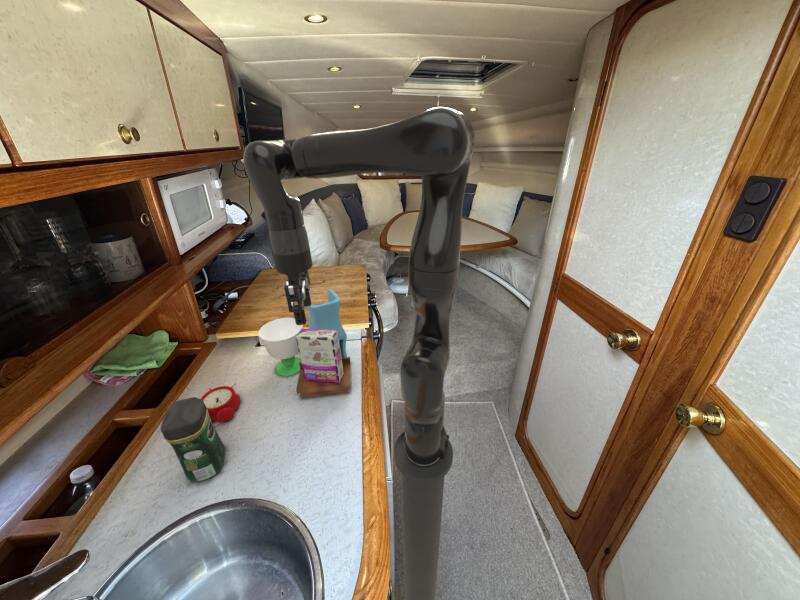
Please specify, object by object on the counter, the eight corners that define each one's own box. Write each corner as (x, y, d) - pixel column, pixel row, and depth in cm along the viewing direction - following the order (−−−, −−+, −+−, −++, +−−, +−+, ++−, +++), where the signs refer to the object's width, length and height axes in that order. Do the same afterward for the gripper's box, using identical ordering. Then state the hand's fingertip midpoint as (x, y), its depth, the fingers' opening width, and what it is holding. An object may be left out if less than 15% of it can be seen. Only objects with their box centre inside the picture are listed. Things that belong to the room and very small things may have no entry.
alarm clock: (240, 379, 97) (228, 407, 83) (244, 397, 99) (233, 427, 85) (203, 386, 95) (184, 415, 81) (208, 404, 96) (190, 436, 82)
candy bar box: (344, 373, 98) (338, 329, 91) (339, 384, 94) (333, 339, 86) (310, 370, 100) (302, 327, 92) (304, 381, 96) (294, 336, 88)
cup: (274, 387, 99) (263, 346, 92) (264, 363, 109) (253, 325, 102) (316, 370, 106) (308, 331, 98) (303, 350, 116) (295, 313, 108)
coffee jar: (193, 452, 79) (166, 398, 70) (227, 443, 81) (205, 389, 73) (183, 488, 71) (151, 432, 62) (222, 477, 73) (196, 421, 65)
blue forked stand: (339, 349, 116) (331, 288, 104) (349, 364, 108) (342, 300, 97) (313, 358, 112) (302, 295, 100) (322, 374, 104) (310, 308, 92)
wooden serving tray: (351, 372, 105) (349, 357, 102) (351, 394, 96) (349, 378, 93) (302, 377, 103) (299, 362, 100) (298, 400, 94) (294, 384, 91)
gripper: (304, 257, 59) (317, 329, 67) (313, 236, 72) (323, 299, 80) (263, 260, 59) (281, 332, 66) (279, 238, 71) (293, 301, 79)
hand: (304, 314), depth 73 cm, fingers open, 8 cm apart
